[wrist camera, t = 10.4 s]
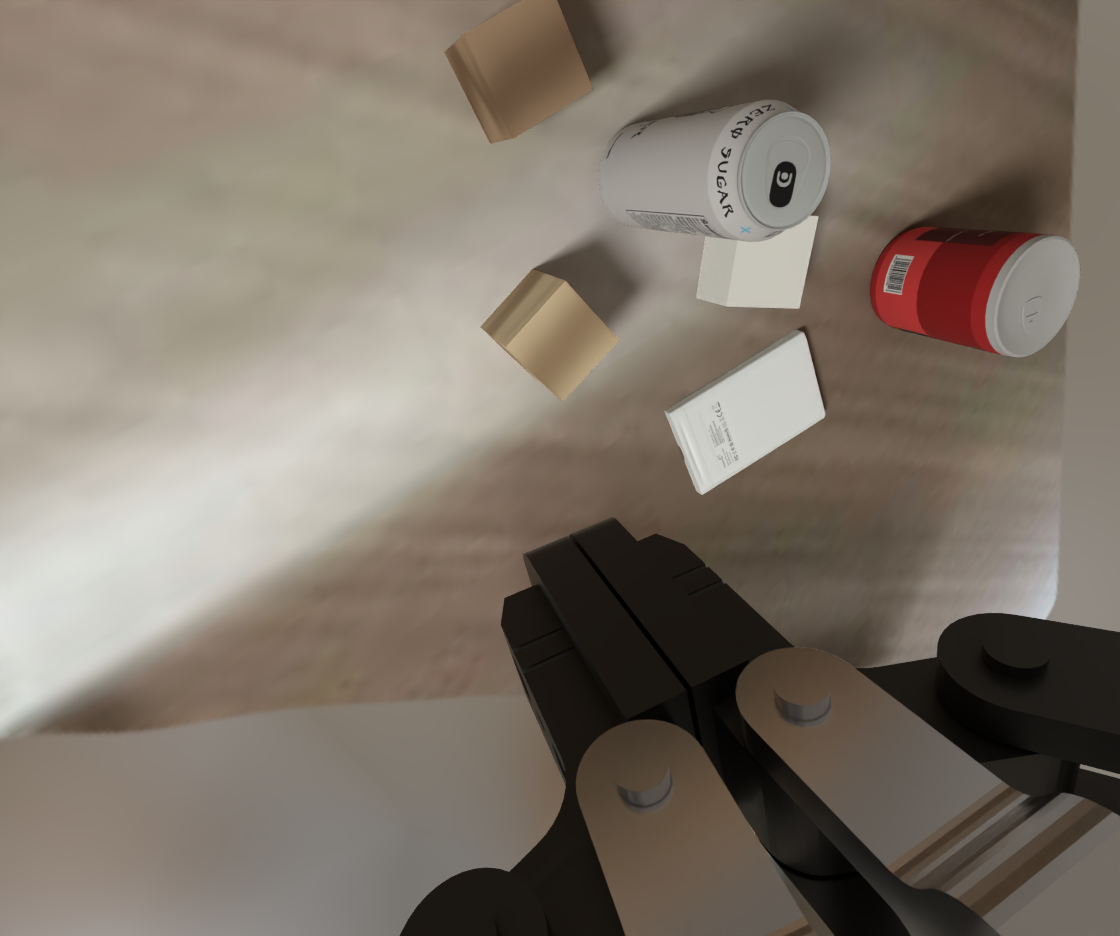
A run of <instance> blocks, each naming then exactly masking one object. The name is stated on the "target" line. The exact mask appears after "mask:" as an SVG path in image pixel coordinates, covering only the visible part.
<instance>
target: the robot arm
mask: <svg viewBox="0 0 1120 936" xmlns="http://www.w3.org/2000/svg"><path fill="white" fill-rule="evenodd" d="M523 557H524V562H525V565H526V569H527V572H528V575H529V578H530V581H531V585H532V587H530V588H527V589H525V590H523V591H520V592H518V593H515V594H513V595H511V596H508V597H506V598H505V599H504V606H503V613H502V620H501V626H502V629H503V632H504V635H505V638H506V640H507V643H508V646H509V649H510V652H511V654H512V657H513V660H514V663H515V666H516V668H517V671H518V674H519V677H520V680H521V682H522V685H523V688H524V691H525V693H526V696H527V699H528V701H529V703H530V706H531V708H532V710H533V712H534V714H535V717H536V719H537V721H538V723H539V725H540V728H541V730H542V733H543V735H544V737H545V739H546V742H547V744H548V746H549V748H550V751H551V753H552V755H553V758H554V760H555V762H556V764H557V767H558V769H559V771H560V773H561V775H562V778H563V780H564V782H565V785H566V789H565V795H564V800H563V803H562V806H561V809H560V812H559V814H558V816H557V818H556V820H555V822H554V823H553V825H552V826H551V828H550V829H549V831H548V833H547V834H546V835H545V836H544V837H543V839H541V841H540V842H539V843H538V844H537V845H536V846H535V847H534V848H533V849H532V850H531V851H530V852H529V853H528V854H527V855H526V856H525V857H524V858H523V859H522V860H521V861H520V862H519V863H518V864H517V865H516V866H515V867H514V868H513V869H512V870H511V871H510V872H508V871H504V870H501V869H496V868H478V869H472V870H469V871H465V872H462V873H460V874H458V875H455V876H453V877H451V878H449V879H448V880H446V881H445V882H443V883H441V884H440V885H438V886H437V887H436V888H435V889H434V890H433V891H431V892H430V893H429V894H428V895H427V896H426V897H425V898H424V899H423V900H422V902H421V903H420V904H419V905H418V906H417V907H416V909H415V910H414V912H413V913H412V915H411V916H410V918H409V919H408V921H407V923H406V925H405V927H404V929H403V930H402V932H401V934H400V936H1120V779H1118V778H1115V777H1111V776H1107V775H1103V774H1099V773H1095V772H1092V771H1088V770H1084V769H1080V764H1083V765H1087V766H1090V767H1094V768H1098V769H1102V770H1106V771H1110V772H1114V773H1117V774H1120V632H1115V631H1108V630H1103V629H1097V628H1091V627H1084V626H1079V625H1073V624H1067V623H1061V622H1055V621H1049V620H1043V619H1037V618H1031V617H1025V616H1019V615H1012V614H1004V613H985V614H976V615H971V616H967V617H964V618H962V619H959V620H957V621H955V622H954V623H952V624H950V625H949V626H948V627H947V628H946V629H945V630H944V631H943V633H942V634H941V636H940V638H939V641H938V647H937V657H935V658H929V659H923V660H917V661H911V662H905V663H899V664H894V665H888V666H882V667H874V668H854V667H853V666H851V665H850V664H848V663H847V662H845V661H844V660H842V659H841V658H839V657H837V656H835V655H832V654H830V653H827V652H824V651H821V650H816V649H812V648H803V647H794V646H793V645H792V644H790V643H789V642H788V641H787V640H786V639H785V638H784V637H783V636H782V635H781V634H780V633H779V632H778V631H776V630H775V629H774V628H773V627H772V626H771V625H770V624H769V623H768V622H767V621H766V620H765V619H764V618H763V617H761V616H760V615H759V614H758V613H757V612H756V611H755V610H754V609H753V608H752V607H751V606H750V605H749V604H748V603H747V602H745V601H744V600H743V599H742V598H741V597H740V596H739V595H738V594H737V593H736V592H735V591H734V590H733V589H732V588H730V587H729V586H728V585H727V584H726V583H725V584H724V583H723V582H722V579H721V578H720V577H719V576H718V575H717V574H716V573H714V572H713V571H712V570H711V569H710V568H709V567H708V568H707V567H706V566H705V563H704V562H703V561H702V560H701V559H700V558H698V557H697V556H696V555H695V554H694V553H693V552H692V551H691V550H690V549H689V548H688V547H687V546H686V545H684V544H682V543H679V542H677V541H674V540H671V539H669V538H666V537H663V536H661V535H658V534H654V535H651V536H649V537H647V538H644V539H642V540H640V541H637V540H636V539H635V538H634V537H633V536H632V535H631V534H630V533H629V532H628V531H627V530H626V529H625V528H624V527H623V526H622V525H621V524H620V523H619V521H618V520H616V519H615V518H613V517H611V518H609V519H606V520H604V521H602V522H599V523H597V524H594V525H592V526H589V527H587V528H585V529H582V530H580V531H577V532H575V533H572V534H570V535H569V537H568V536H566V537H563V538H561V539H558V540H556V541H554V542H551V543H549V544H546V545H544V546H541V547H539V548H537V549H534V550H532V551H529V552H527V553H524V554H523ZM746 820H747V821H746ZM748 823H749V824H748ZM750 826H751V827H752V829H753V830H754V832H755V834H754V832H753V830H752V829H751V827H750Z"/></svg>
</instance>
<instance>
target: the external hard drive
mask: <svg viewBox="0 0 1120 936" xmlns="http://www.w3.org/2000/svg"><path fill="white" fill-rule="evenodd" d="M665 414H666V416H667V419H668V421H669V424H670V426H671V429H672V431H673V434H674V436H675V439H676V441H677V444H678V445H679V446H680V448H681V450H682V453H683V455H684V458H685V459H684V461H685V464H686V466H687V469H688V471H689V474H690V476H691V479H692V481H693V484H694V486H695V489H696V491H697V492H698V493H700V494H701V495H703V494H704V493H706V492H708V491H709V490H711V489H712V488H714V487H715V486H717V485H718V484H720V483H722V482H723V481H725V480H726V479H728V478H730V477H731V476H733V475H735V474H736V473H738V472H739V471H741V470H742V469H744V468H746V467H747V466H749V465H750V464H752V463H754V462H755V461H757V460H758V459H760V458H761V457H763V456H765V455H766V454H768V453H769V452H771V451H772V450H774V449H776V448H777V447H779V446H780V445H782V444H784V443H785V442H787V441H788V440H790V439H792V438H793V437H795V436H796V435H798V434H799V433H801V432H803V431H804V430H806V429H807V428H809V427H810V426H812V425H813V424H815V423H817V422H818V421H820V420H821V419H823V418H824V417H825V410H824V407H823V402H822V398H821V394H820V390H819V387H818V382H817V379H816V375H815V370H814V366H813V362H812V358H811V355H810V350H809V346H808V342H807V339H806V336H805V334H804V332H802V331H798V330H794V331H793V332H791V333H790V334H788V335H786V336H785V337H783V338H782V339H780V340H778V341H777V342H775V343H774V344H772V345H770V346H769V347H767V348H765V349H764V350H762V351H761V352H759V353H757V354H756V355H754V356H753V357H751V358H749V359H748V360H746V361H744V362H743V363H741V364H740V365H738V366H736V367H735V368H733V369H731V370H730V371H728V372H727V373H725V374H723V375H722V376H720V377H719V378H717V379H715V380H714V381H712V382H710V383H709V384H707V385H706V386H704V387H702V388H701V389H699V390H697V391H696V392H694V393H693V394H691V395H689V396H688V397H686V398H684V399H683V400H681V401H680V402H678V403H676V404H675V405H673V406H671V407H670V408H668V409H667V410H665Z"/></svg>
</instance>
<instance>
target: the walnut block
mask: <svg viewBox="0 0 1120 936" xmlns="http://www.w3.org/2000/svg"><path fill="white" fill-rule="evenodd" d="M445 54H446V56H447V58H448V60H449V62H450V64H451V66H452V68H453V70H454V72H455V74H456V76H457V78H458V80H459V82H460V84H461V86H462V88H463V90H464V92H465V94H466V96H467V98H468V100H469V102H470V104H471V106H472V108H473V110H474V112H475V114H476V116H477V118H478V120H479V122H480V124H481V126H482V128H483V130H484V132H485V134H486V136H487V138H488V140H489V142H490V143H494V142H498V141H503V140H507V139H512V138H515V137H516V136H518V135H520V134H521V133H523V132H524V131H526V130H528V129H529V128H531V127H533V126H534V125H536V124H538V123H539V122H541V121H542V120H544V119H546V118H547V117H549V116H551V115H552V114H554V113H555V112H557V111H559V110H560V109H562V108H564V107H565V106H567V105H569V104H570V103H572V102H573V101H575V100H577V99H578V98H580V97H582V96H583V95H585V94H586V93H588V92H590V91H591V90H593V87H592V85H591V82H590V80H589V77H588V75H587V73H586V70H585V68H584V65H583V63H582V60H581V58H580V55H579V53H578V50H577V48H576V45H575V43H574V40H573V38H572V36H571V33H570V31H569V28H568V26H567V23H566V21H565V18H564V16H563V13H562V11H561V8H560V6H559V4H558V1H557V0H520V1H519V2H517V3H515V4H514V5H512V6H510V7H509V8H507V9H505V10H504V11H502V12H500V13H499V14H497V15H495V16H493V17H492V18H490V19H488V20H487V21H485V22H483V23H482V24H480V25H478V26H477V27H475V28H473V29H471V30H470V31H468V32H466V33H465V34H463V35H462V36H461V37H460V38H459V39H458V40H457V41H456V42H455V43H454V44H453V45H452V46H451V47H450V48H448V49H447V50H446V51H445Z"/></svg>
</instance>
